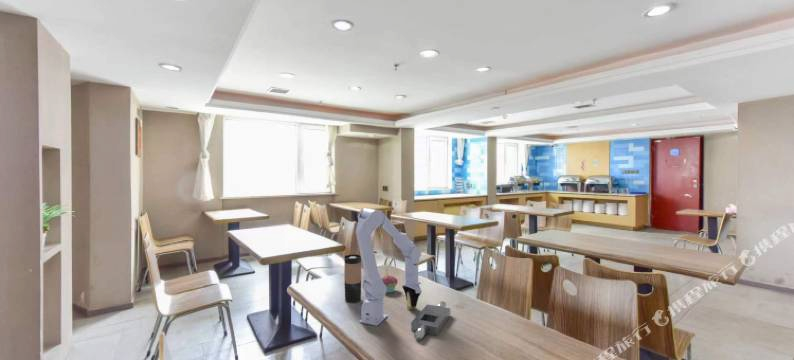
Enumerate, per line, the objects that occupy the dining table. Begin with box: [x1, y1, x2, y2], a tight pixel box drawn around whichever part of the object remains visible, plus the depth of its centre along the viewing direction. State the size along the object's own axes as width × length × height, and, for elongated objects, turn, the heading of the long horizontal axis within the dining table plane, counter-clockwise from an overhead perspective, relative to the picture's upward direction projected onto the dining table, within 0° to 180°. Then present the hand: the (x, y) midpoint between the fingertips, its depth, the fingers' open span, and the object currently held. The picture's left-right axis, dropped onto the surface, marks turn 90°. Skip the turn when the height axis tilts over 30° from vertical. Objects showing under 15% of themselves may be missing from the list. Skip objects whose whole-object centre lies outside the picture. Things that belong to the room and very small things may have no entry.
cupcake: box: [381, 267, 398, 294], centre depth 165 cm, size 9×8×12 cm
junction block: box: [410, 300, 451, 342], centre depth 131 cm, size 30×10×3 cm, turn 156°
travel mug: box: [343, 253, 362, 304], centre depth 153 cm, size 8×8×20 cm
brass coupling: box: [406, 292, 417, 312], centre depth 144 cm, size 4×4×7 cm
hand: (411, 304), depth 144 cm, fingers closed on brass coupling, 4 cm apart
